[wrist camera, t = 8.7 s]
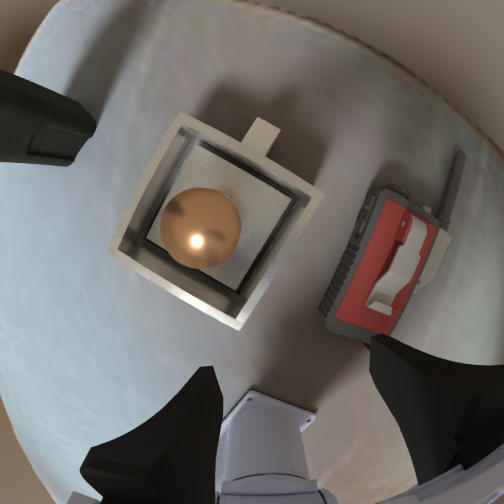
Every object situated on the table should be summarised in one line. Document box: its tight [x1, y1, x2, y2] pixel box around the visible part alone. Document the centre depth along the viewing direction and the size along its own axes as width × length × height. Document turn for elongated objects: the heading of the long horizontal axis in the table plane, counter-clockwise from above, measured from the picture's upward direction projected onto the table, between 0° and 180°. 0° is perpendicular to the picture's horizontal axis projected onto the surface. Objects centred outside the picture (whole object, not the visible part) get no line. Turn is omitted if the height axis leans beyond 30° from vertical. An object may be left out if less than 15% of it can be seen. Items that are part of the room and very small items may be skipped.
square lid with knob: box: [146, 145, 291, 291], centre depth 16 cm, size 8×8×7 cm
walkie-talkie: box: [318, 151, 466, 350], centre depth 19 cm, size 9×4×20 cm
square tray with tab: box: [107, 112, 325, 331], centre depth 18 cm, size 12×10×4 cm
